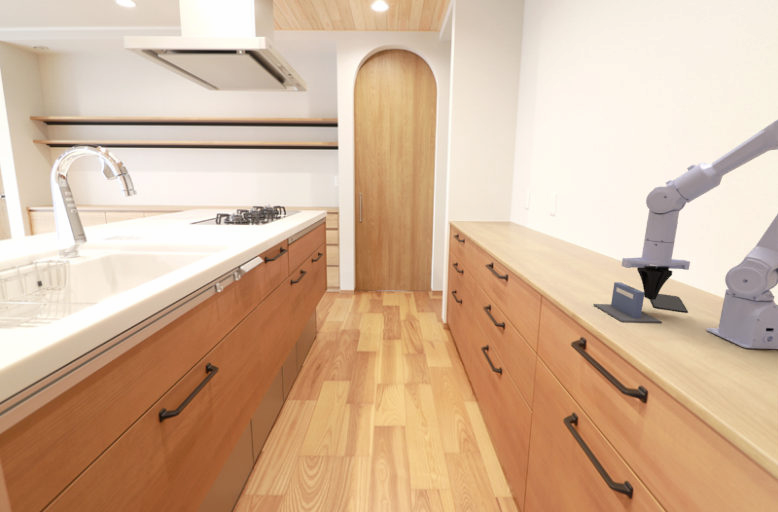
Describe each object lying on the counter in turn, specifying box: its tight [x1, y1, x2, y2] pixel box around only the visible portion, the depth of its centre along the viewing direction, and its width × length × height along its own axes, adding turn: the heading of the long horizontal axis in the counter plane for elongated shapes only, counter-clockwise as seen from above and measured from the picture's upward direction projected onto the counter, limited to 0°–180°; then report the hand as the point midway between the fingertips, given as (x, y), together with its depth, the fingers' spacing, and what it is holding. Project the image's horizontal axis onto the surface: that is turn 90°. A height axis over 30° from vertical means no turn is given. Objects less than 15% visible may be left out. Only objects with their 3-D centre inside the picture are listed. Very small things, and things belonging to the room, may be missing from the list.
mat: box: [593, 303, 663, 324], centre depth 94 cm, size 12×9×1 cm
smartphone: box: [649, 293, 689, 314], centre depth 105 cm, size 7×1×15 cm
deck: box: [610, 281, 645, 318], centre depth 94 cm, size 9×2×6 cm, turn 1°
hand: (649, 298), depth 94 cm, fingers closed
